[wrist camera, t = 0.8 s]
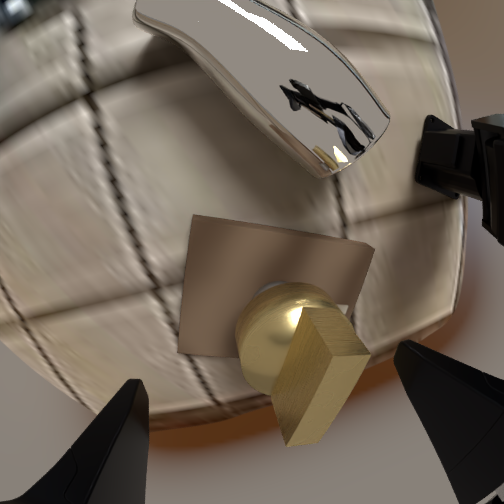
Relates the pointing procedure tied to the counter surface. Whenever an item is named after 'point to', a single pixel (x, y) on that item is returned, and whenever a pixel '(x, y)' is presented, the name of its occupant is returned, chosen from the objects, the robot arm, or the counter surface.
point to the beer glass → (276, 76)
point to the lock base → (257, 275)
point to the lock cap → (300, 357)
